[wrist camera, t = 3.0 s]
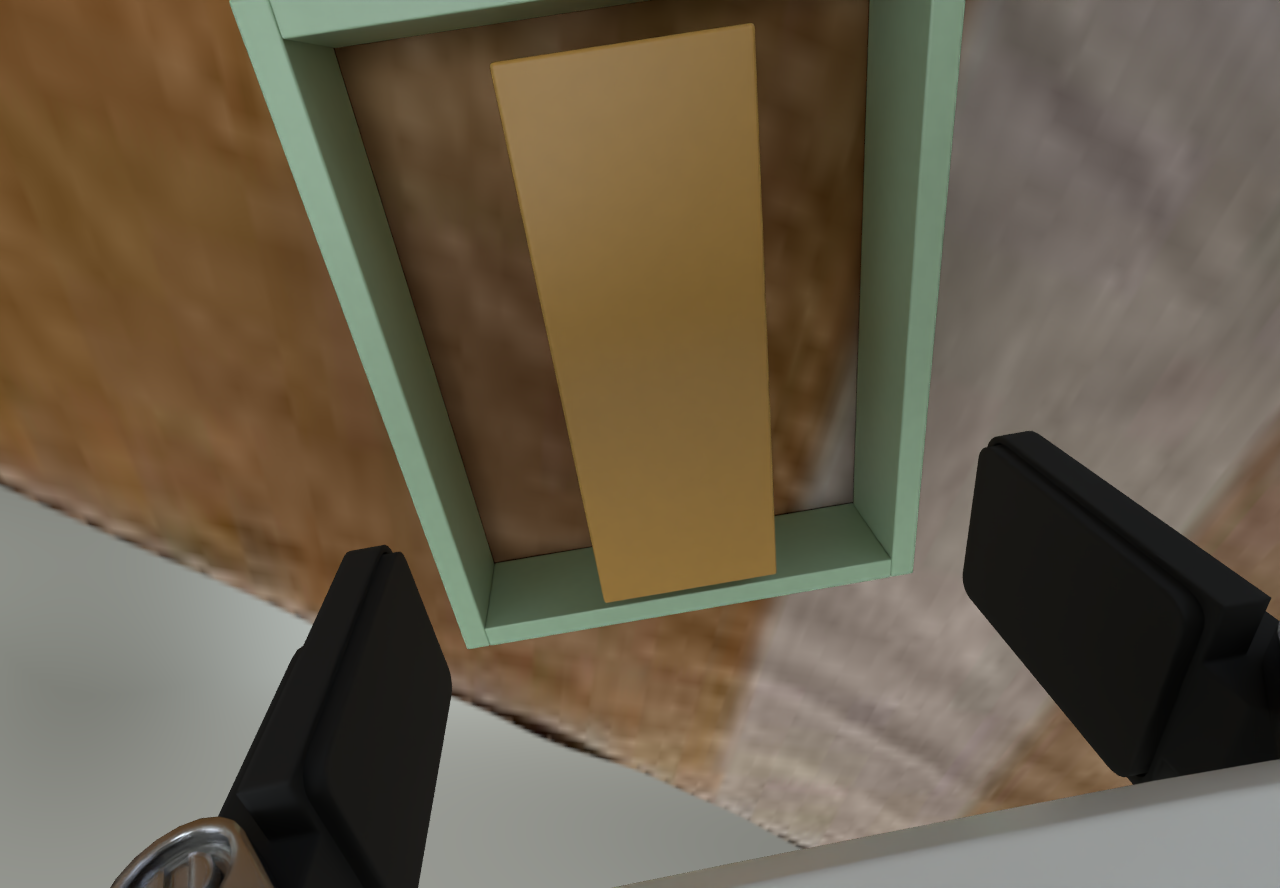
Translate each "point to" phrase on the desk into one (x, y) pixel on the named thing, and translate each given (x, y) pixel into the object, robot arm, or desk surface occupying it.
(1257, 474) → the desk surface
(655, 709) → the desk surface
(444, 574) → the green rectangular open frame
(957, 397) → the desk surface
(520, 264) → the desk surface
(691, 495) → the tan wooden plank
